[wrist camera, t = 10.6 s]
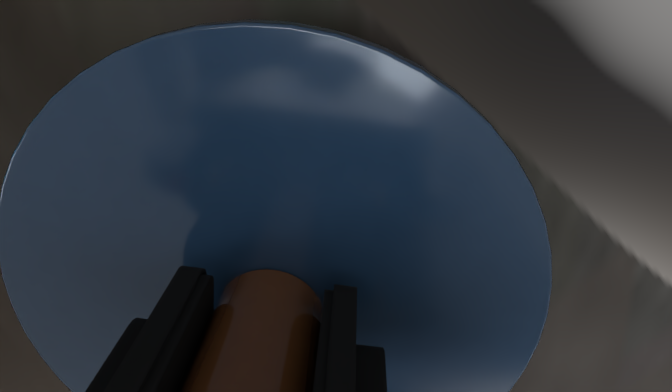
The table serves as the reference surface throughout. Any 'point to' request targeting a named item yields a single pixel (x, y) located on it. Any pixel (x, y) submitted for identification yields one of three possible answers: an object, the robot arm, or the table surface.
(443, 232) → the canister lid
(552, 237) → the table surface
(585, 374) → the table surface
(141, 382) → the robot arm
